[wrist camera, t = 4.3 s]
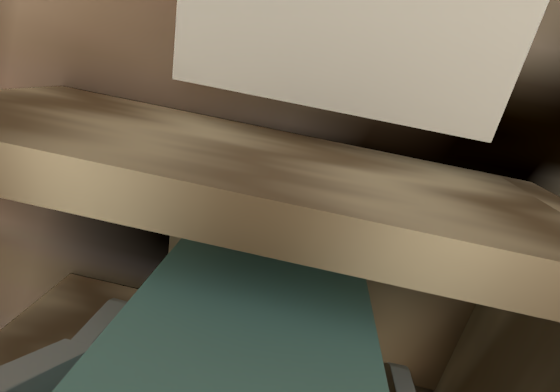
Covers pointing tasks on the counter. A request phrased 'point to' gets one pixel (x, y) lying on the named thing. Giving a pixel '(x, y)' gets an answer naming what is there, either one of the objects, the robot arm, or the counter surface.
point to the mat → (365, 56)
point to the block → (236, 330)
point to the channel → (301, 228)
